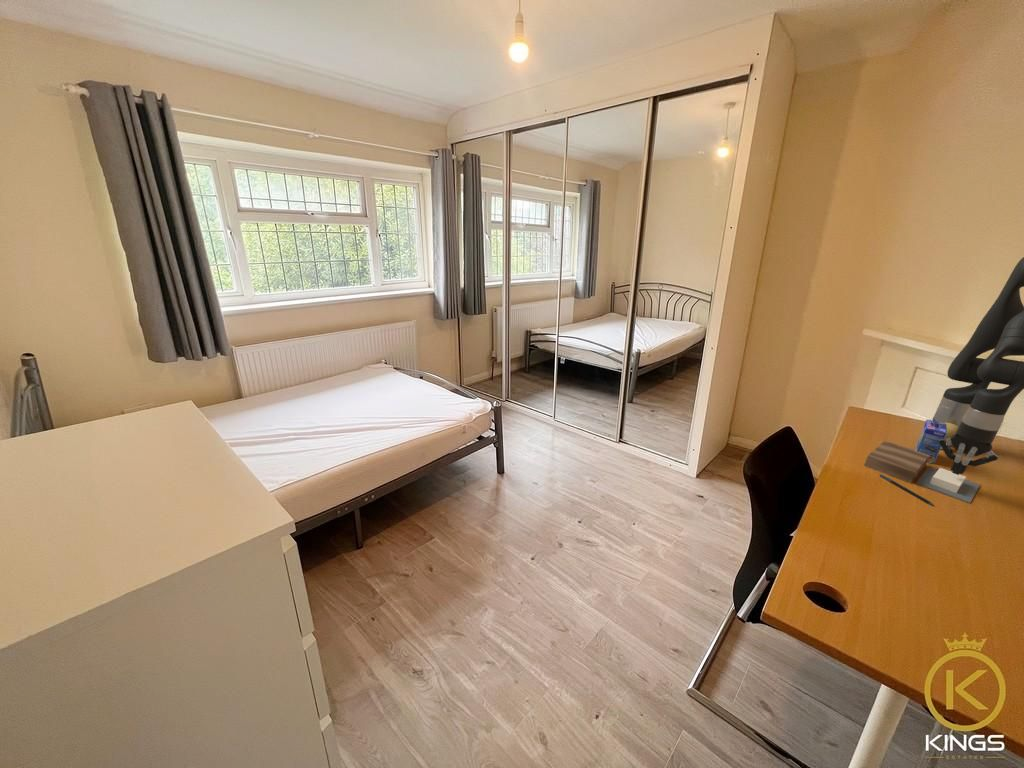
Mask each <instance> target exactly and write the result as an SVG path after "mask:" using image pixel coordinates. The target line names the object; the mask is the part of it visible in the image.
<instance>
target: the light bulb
mask: <svg viewBox="0 0 1024 768" xmlns="http://www.w3.org/2000/svg"><path fill="white" fill-rule="evenodd" d="M945 424H946V426H947V434H946V436H945V439H948V438H951V437H952V436H953V435H955V434H956V432H957V429H958V426H956V425H954V424H952V423H945ZM940 450H943V449H942V447H941V449H940Z"/></svg>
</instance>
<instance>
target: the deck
mask: <svg viewBox="0 0 1024 768" xmlns="http://www.w3.org/2000/svg"><path fill="white" fill-rule="evenodd" d="M929 456H930V455H927V454H924V453H921V452H918V451H915V449H912V448H909V447H905V446H902V445H900V444H897V443H893V442H891V441H888V440H887V441H886V440H883V441H882V443H880V444H879V445H878V446H877V447H876V448H874V449H873V450H872V451H871V452H870V453H869V454H868V455H867V457H866V460H865V462H864V464H863V465H864V467H867V468H869V469H872V470H875V471H878V472H880V473H882V474H886V475H888V476H891V477H893V478H897V479H898V480H902V481H905V482H906V483H913V481H914V480H915V478H916V477H917V476H918V475H919V473H921V471H922V470H923V469H924V468H925V467H926V466H927V465H926V464H927V463H928V462H927V461H928V458H929Z"/></svg>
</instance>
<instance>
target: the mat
mask: <svg viewBox="0 0 1024 768" xmlns="http://www.w3.org/2000/svg"><path fill="white" fill-rule="evenodd" d="M938 470H939V469H936V468H934V467H930V466H928V468H926V470H924V472H923V473H922V475H921V476H920V477H919V478H918V479H917V480H916V482H915V484H916V485H918V486H922V487H924V488H927V489H930V490H932V491H935V492H938V493H940V494H943V495H946V496H949V497H951V498H953V499H957V500H959V501H962V502H965V503H966V504H971V502H972V500H973V498H974V497H975V495H976V493H977V491H978V490H979V488H980V485H981V483H977V482H975V481H971V480H968V479H967V478H965V480H964V482H963V484H962V485H961V487H960V488H959V490H958V491H957V493H955V492H952V491H949V490H947V489H944V488H941V487H938V486H936V485H933V484H930V481H931V479H932V477H933V476H934V475H935V473H936V472H937V471H938Z"/></svg>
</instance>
